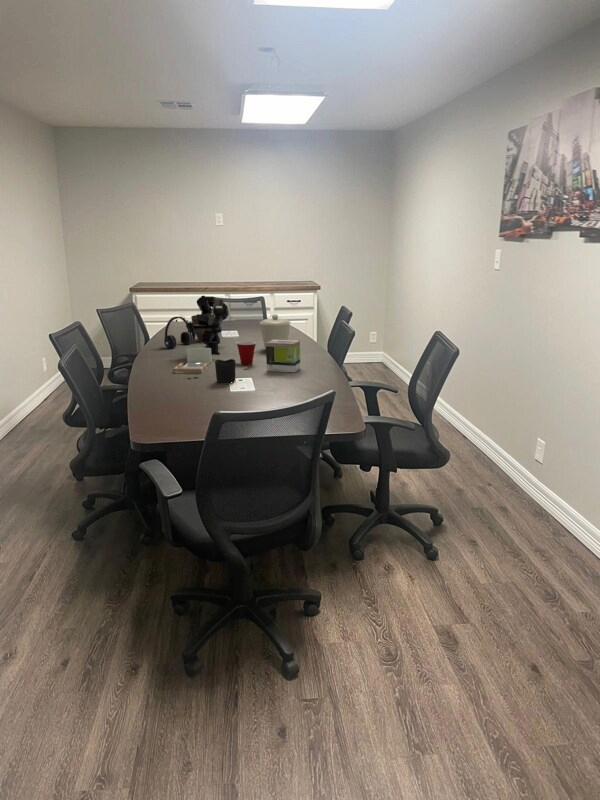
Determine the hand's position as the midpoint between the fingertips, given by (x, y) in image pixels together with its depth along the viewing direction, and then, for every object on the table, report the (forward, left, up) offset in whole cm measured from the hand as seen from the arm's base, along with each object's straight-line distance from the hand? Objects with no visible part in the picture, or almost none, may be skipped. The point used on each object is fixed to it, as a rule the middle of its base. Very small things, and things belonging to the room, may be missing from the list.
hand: (201, 340), depth 296 cm
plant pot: (-25, -52, -12) cm, 59 cm away
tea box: (-25, +43, -12) cm, 51 cm away
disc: (+9, +13, -10) cm, 19 cm away
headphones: (-5, -46, -12) cm, 48 cm away
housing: (+15, +19, -11) cm, 27 cm away
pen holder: (+9, +46, -12) cm, 48 cm away
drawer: (+9, +12, -11) cm, 19 cm away
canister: (-47, 0, -12) cm, 48 cm away
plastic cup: (-16, +21, -12) cm, 29 cm away
